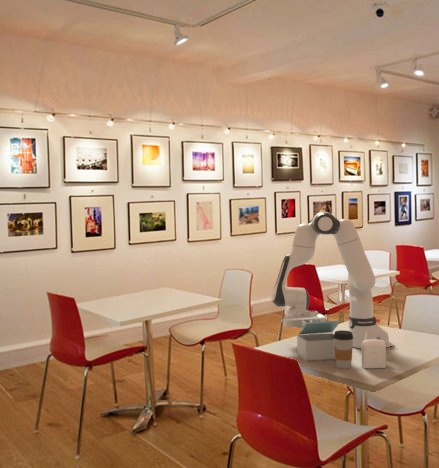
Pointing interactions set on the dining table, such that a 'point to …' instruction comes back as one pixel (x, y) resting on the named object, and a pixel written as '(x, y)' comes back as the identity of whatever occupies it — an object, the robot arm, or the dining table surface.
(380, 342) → the photo printer
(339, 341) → the coffee cup
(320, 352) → the white box
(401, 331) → the dining table surface
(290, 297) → the robot arm
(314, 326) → the cover
